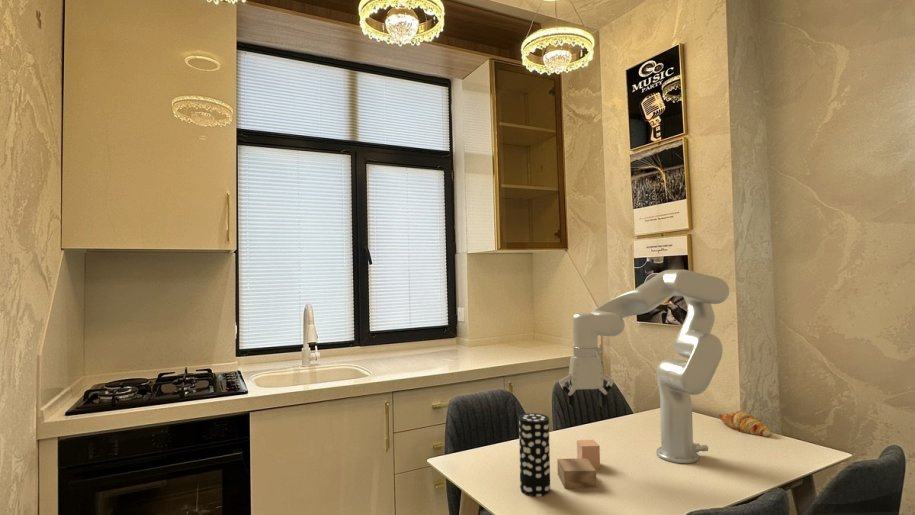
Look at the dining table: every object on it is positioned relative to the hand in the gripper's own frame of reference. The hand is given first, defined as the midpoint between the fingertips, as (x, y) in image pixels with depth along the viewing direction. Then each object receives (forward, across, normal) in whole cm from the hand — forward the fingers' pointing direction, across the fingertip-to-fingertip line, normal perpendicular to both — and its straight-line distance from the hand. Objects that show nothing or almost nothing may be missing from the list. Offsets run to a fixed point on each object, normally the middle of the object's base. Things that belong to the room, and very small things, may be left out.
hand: (586, 406), depth 152 cm
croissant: (+19, -69, -29) cm, 77 cm away
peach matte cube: (+18, 0, 0) cm, 18 cm away
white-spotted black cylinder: (+18, +20, +16) cm, 31 cm away
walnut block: (+18, +7, +11) cm, 23 cm away
